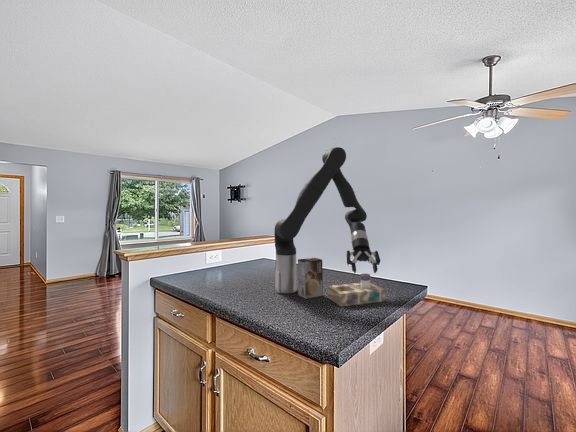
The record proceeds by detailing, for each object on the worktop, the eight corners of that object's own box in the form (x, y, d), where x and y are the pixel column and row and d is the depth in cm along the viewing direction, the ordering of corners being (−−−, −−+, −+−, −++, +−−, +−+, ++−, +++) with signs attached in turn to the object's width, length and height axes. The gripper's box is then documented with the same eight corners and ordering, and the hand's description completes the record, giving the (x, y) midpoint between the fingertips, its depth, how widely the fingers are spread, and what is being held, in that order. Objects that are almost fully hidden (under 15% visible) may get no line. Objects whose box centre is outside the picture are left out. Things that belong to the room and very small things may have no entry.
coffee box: (315, 292, 131) (315, 257, 131) (323, 295, 126) (323, 259, 125) (297, 295, 127) (297, 259, 127) (305, 299, 121) (305, 261, 121)
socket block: (341, 306, 112) (341, 294, 111) (327, 297, 123) (327, 285, 123) (385, 301, 118) (385, 289, 117) (368, 293, 129) (368, 282, 129)
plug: (363, 300, 120) (363, 276, 119) (358, 297, 124) (358, 274, 123) (372, 299, 121) (372, 275, 121) (366, 296, 125) (366, 273, 124)
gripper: (345, 236, 132) (349, 266, 121) (377, 237, 131) (383, 267, 120) (343, 246, 137) (347, 276, 126) (374, 247, 137) (380, 276, 125)
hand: (365, 271), depth 123 cm, fingers open, 8 cm apart
